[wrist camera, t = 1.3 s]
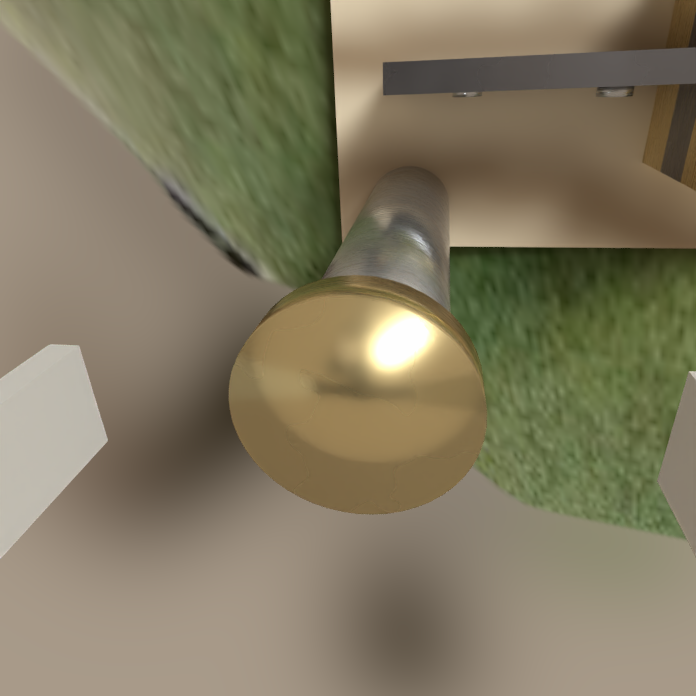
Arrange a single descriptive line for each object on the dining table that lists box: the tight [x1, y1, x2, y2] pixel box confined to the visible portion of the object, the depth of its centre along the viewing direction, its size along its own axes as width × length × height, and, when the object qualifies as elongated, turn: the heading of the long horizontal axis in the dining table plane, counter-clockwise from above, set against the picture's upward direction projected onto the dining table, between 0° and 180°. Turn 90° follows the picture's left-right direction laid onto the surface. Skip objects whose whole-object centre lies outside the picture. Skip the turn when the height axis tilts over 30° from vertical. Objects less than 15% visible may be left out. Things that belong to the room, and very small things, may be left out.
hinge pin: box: [229, 166, 487, 514], centre depth 19 cm, size 5×5×18 cm
